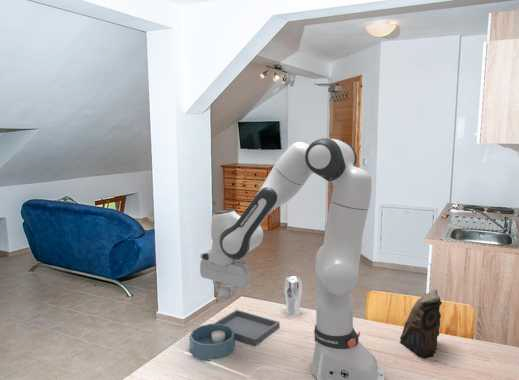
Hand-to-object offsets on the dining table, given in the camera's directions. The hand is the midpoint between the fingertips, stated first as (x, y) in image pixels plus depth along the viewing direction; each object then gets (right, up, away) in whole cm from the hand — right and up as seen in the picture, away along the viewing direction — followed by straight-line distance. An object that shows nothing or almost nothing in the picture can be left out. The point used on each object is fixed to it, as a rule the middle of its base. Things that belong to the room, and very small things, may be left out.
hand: (225, 294), depth 150 cm
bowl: (-4, -18, -4) cm, 19 cm away
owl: (+67, -18, -4) cm, 69 cm away
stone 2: (0, -1, 0) cm, 1 cm away
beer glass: (+26, -14, +23) cm, 37 cm away
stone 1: (-2, -17, -1) cm, 17 cm away
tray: (+7, -16, +9) cm, 19 cm away
